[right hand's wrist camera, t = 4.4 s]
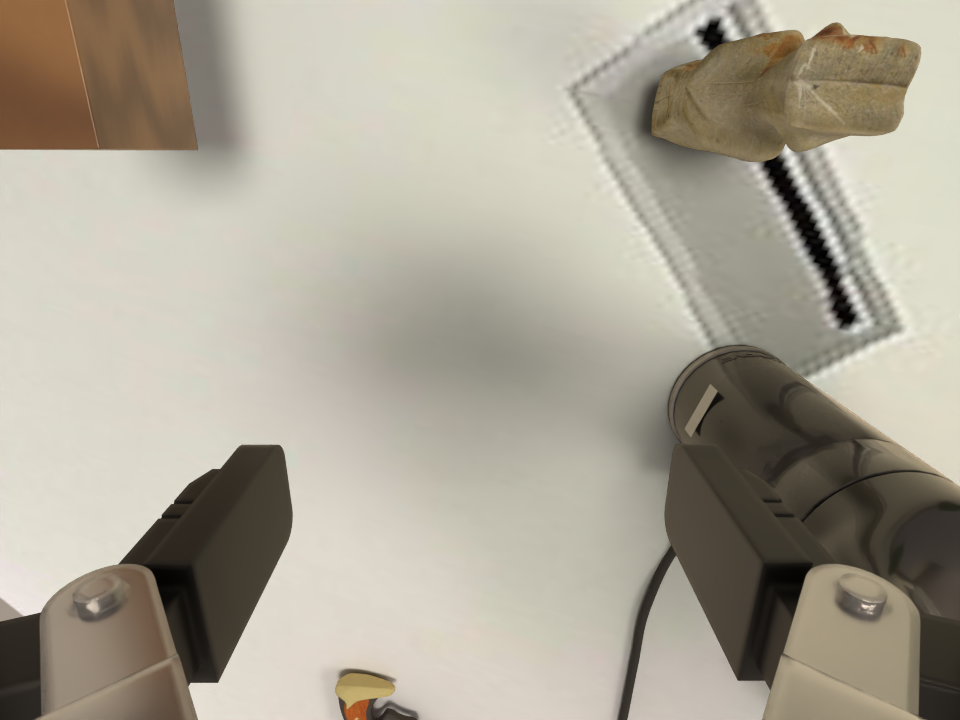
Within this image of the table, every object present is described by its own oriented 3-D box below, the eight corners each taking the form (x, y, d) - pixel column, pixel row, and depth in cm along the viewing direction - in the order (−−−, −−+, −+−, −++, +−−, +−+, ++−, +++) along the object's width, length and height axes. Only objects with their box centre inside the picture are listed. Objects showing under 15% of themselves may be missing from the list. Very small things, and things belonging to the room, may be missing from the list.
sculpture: (737, 168, 37) (897, 177, 23) (631, 150, 36) (726, 148, 22) (766, 70, 35) (962, 14, 21) (654, 50, 34) (775, -21, 20)
